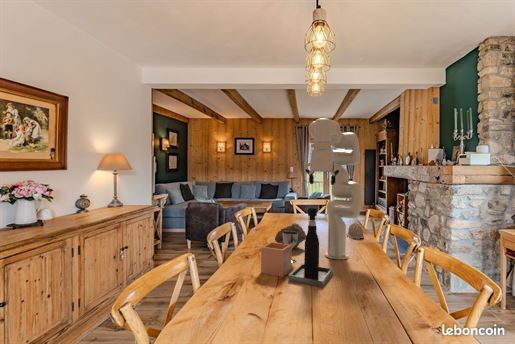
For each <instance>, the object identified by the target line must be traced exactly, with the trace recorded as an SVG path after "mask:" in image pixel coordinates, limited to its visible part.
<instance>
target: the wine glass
mask: <svg viewBox="0 0 515 344" xmlns="http://www.w3.org/2000/svg"><path fill="white" fill-rule="evenodd" d="M297 239H298V232H295V231H284V232H283V241H284V244H289V245H292V249H294V248H293V247H294V246H295V245H296V243H297ZM296 263H297V260H296V259H294V258H292V263H291V264H296Z"/></svg>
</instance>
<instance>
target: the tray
mask: <svg viewBox="0 0 515 344" xmlns="http://www.w3.org/2000/svg"><path fill="white" fill-rule="evenodd" d="M332 275H333V268H331V267H326V266H325V267H324V266H319V276H318V277H314V278H312V277H307V276H305V275H304V263H301V264H299V266H298V267H296V268H295V269H293V271H291V272H290V273H289V274H288V276H287V277H288V279H287V280H288V282H290V283H291V282H292V283H297V284H302V285H307V286H312V287H319V288H324V286H326V284H327V282H328V281H329V280H330V278H331V277H332Z"/></svg>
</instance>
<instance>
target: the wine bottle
mask: <svg viewBox="0 0 515 344" xmlns="http://www.w3.org/2000/svg"><path fill="white" fill-rule="evenodd" d="M307 209H308V210H307V216H308V217H309V218H308V220H309V221H308V225H307V233H306V238H305V240H304V259H303V260H304V263H303V264H304V275H305V276H307V277H312V278H314V277H318V276H319V267H320V261H319V260H320V240H319V236H318V234H317V221H316V217H317V216H318V208H317V207H316V208H315V207H309V208H307Z"/></svg>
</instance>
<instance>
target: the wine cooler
mask: <svg viewBox="0 0 515 344" xmlns="http://www.w3.org/2000/svg"><path fill="white" fill-rule="evenodd" d="M260 249H261V250H260V273H261V274H266V275H271V276H277V277H282V278H283V277H285V276H286V275H287V274H288V273H289V272H291V271H292V264H293V263H292V259H293V258H292V256H293V254H292V252H293V248H292V245H289V244H282V243H277V242H276V241H275V242H274V241H273V242H272V241H270V242H268V243H266V244H265V245H262V246H261V247H260Z"/></svg>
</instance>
